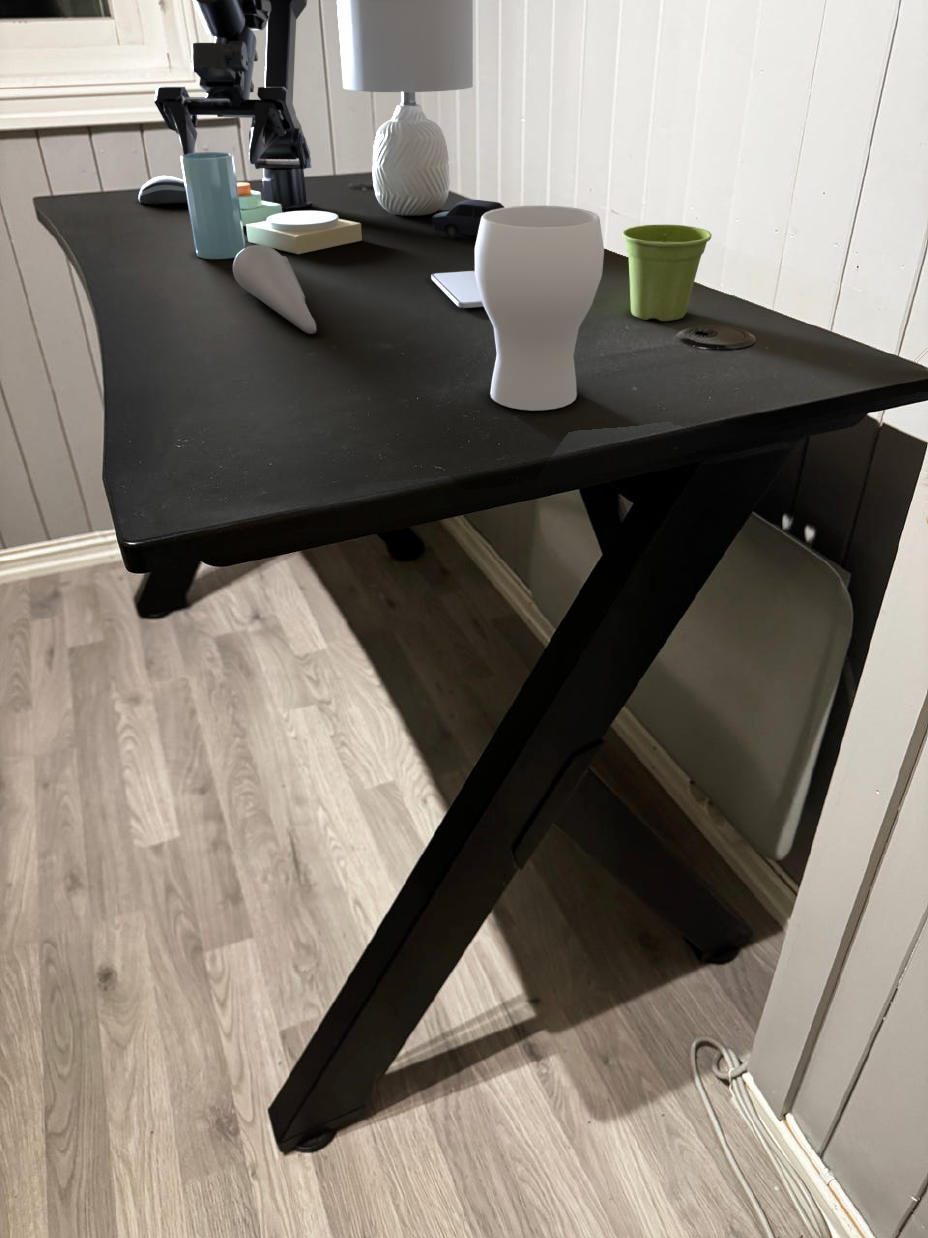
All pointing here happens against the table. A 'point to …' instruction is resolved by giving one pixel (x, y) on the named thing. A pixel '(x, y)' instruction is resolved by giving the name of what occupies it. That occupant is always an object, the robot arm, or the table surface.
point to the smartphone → (460, 287)
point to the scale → (303, 231)
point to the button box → (256, 208)
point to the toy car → (463, 217)
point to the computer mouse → (163, 191)
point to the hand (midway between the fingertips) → (219, 161)
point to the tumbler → (213, 204)
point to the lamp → (408, 88)
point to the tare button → (243, 189)
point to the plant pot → (663, 268)
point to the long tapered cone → (273, 284)
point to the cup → (537, 298)
